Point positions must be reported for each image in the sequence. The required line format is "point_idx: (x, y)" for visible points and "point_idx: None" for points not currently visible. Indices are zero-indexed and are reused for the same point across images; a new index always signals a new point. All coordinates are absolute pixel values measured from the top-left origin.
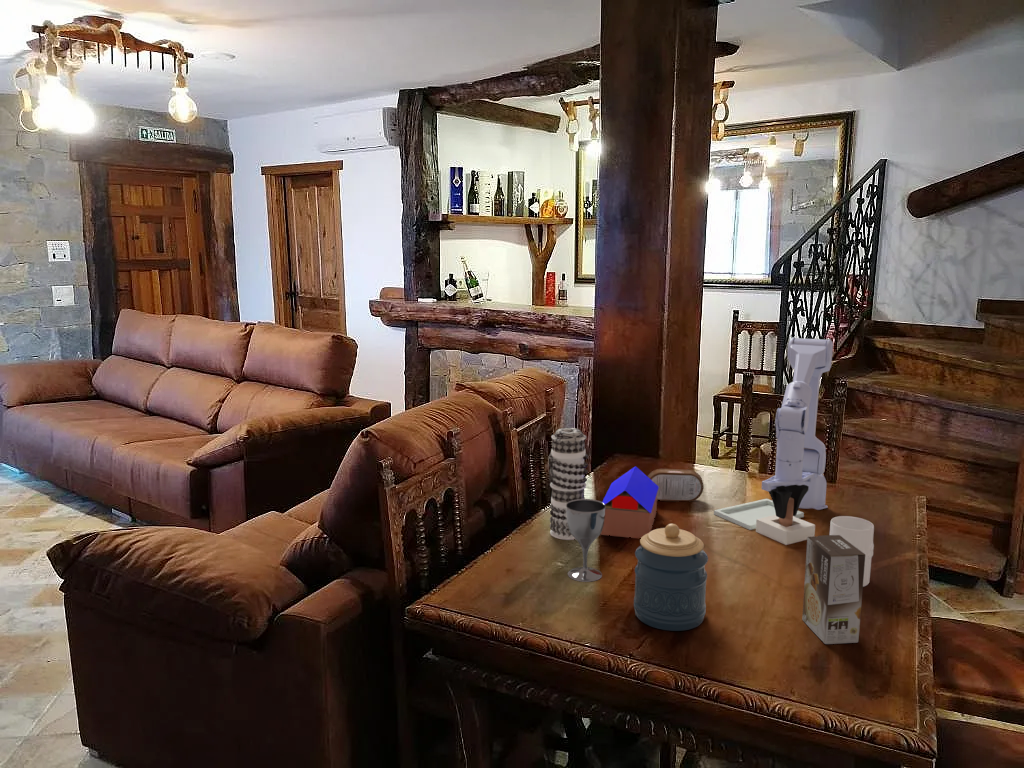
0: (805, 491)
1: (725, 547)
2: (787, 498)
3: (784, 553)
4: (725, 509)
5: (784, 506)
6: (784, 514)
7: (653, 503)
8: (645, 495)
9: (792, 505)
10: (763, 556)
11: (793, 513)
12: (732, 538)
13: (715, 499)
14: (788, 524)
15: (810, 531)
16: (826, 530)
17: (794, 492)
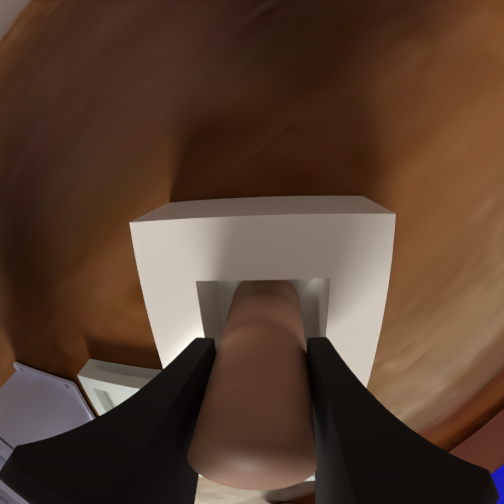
0: (50, 459)
1: (494, 309)
2: (385, 461)
3: (402, 164)
4: None
5: (368, 395)
6: (331, 350)
7: (496, 470)
8: (500, 484)
9: (244, 396)
10: (479, 191)
11: (212, 352)
12: (426, 359)
13: (228, 495)
14: (278, 303)
15: (177, 212)
16: (62, 268)
17: (160, 499)
